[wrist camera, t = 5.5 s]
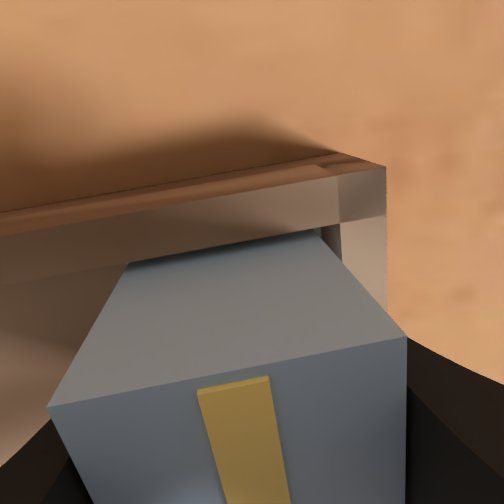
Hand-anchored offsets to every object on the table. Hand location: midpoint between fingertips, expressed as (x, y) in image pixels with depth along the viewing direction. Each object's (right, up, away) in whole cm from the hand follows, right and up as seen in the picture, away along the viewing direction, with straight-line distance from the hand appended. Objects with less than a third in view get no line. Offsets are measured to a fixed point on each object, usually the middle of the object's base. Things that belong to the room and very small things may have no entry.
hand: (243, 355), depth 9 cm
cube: (0, +1, +1) cm, 1 cm away
